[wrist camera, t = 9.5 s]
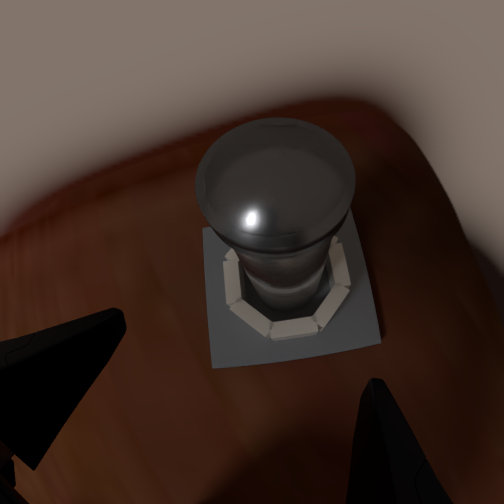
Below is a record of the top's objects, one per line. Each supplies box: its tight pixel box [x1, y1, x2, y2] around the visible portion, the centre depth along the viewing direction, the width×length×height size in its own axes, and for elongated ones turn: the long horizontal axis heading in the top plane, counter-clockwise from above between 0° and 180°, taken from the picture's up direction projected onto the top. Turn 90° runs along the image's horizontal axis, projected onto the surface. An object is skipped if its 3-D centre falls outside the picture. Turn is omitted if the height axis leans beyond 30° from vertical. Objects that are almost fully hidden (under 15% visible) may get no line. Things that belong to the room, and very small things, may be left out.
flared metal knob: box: [195, 118, 355, 313], centre depth 15 cm, size 5×5×13 cm
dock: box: [203, 208, 381, 368], centre depth 20 cm, size 11×12×3 cm
